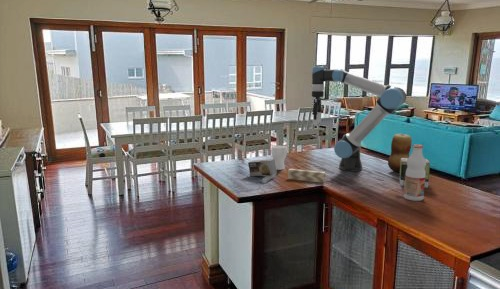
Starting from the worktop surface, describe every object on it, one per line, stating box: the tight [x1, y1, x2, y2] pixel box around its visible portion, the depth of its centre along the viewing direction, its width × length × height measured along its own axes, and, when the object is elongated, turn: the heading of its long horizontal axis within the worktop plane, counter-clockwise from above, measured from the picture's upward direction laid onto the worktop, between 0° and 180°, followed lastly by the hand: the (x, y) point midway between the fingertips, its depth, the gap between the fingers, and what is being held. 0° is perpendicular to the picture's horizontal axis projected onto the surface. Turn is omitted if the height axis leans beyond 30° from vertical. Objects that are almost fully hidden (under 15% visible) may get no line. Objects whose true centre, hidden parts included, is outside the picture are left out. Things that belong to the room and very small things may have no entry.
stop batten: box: [261, 173, 277, 184], centre depth 233 cm, size 2×20×2 cm, turn 157°
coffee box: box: [247, 158, 278, 177], centre depth 236 cm, size 9×6×16 cm
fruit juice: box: [403, 143, 426, 202], centre depth 194 cm, size 9×9×28 cm
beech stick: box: [287, 168, 326, 184], centre depth 229 cm, size 22×3×6 cm, turn 68°
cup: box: [270, 144, 288, 171], centre depth 256 cm, size 11×11×15 cm
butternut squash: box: [387, 133, 412, 173], centre depth 246 cm, size 14×13×25 cm
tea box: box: [399, 158, 431, 189], centre depth 219 cm, size 15×10×15 cm, turn 71°
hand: (317, 123), depth 250 cm, fingers open, 13 cm apart
